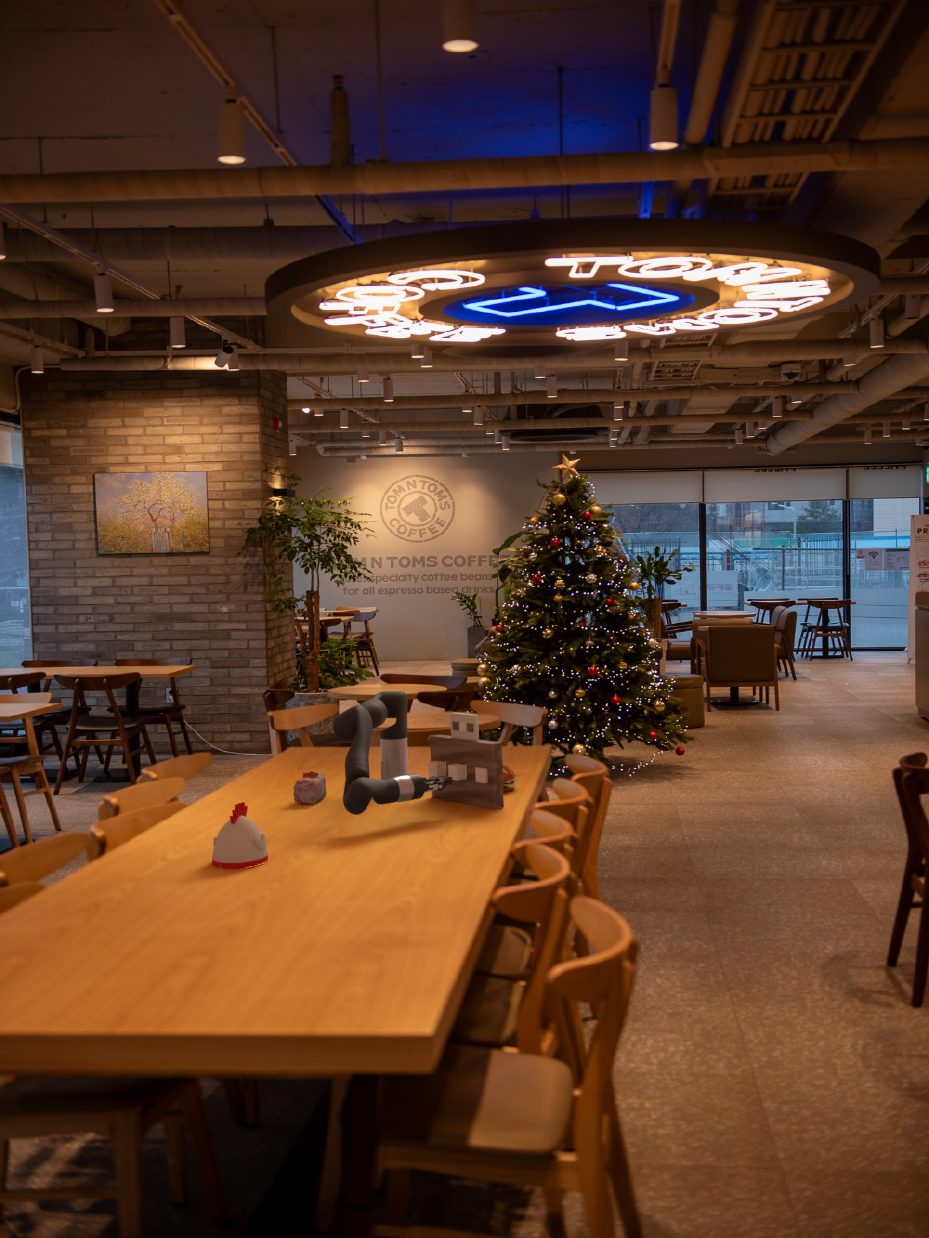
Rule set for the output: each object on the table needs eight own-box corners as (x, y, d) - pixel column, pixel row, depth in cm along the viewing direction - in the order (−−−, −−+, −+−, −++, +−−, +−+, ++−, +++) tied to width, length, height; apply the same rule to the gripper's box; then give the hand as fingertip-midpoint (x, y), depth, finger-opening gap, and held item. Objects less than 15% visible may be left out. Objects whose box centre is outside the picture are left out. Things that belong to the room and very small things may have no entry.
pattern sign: (475, 741, 334) (474, 715, 334) (450, 737, 343) (449, 712, 343) (479, 740, 335) (478, 715, 335) (454, 737, 344) (453, 712, 344)
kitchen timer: (277, 856, 277) (275, 798, 276) (252, 870, 264) (250, 810, 263) (228, 854, 281) (226, 797, 280) (202, 868, 267) (199, 808, 267)
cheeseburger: (517, 785, 365) (516, 758, 362) (516, 799, 354) (515, 771, 352) (487, 785, 366) (486, 758, 363) (485, 799, 355) (484, 771, 353)
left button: (437, 776, 342) (436, 763, 342) (428, 775, 345) (428, 761, 345) (445, 775, 344) (445, 761, 344) (436, 773, 348) (436, 760, 348)
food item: (316, 806, 341) (315, 775, 341) (292, 806, 342) (291, 775, 342) (328, 797, 354) (327, 768, 354) (305, 797, 356) (304, 768, 355)
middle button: (457, 780, 335) (457, 766, 334) (448, 778, 338) (448, 765, 338) (465, 779, 337) (465, 765, 337) (456, 777, 340) (456, 763, 340)
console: (494, 809, 327) (492, 744, 327) (432, 796, 350) (430, 735, 350) (503, 807, 330) (501, 742, 330) (441, 794, 353) (439, 734, 352)
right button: (485, 783, 329) (484, 768, 329) (475, 781, 332) (475, 767, 332) (493, 781, 331) (493, 767, 331) (484, 779, 334) (483, 765, 334)
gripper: (419, 777, 306) (464, 769, 317) (391, 772, 316) (436, 765, 327) (419, 803, 306) (465, 795, 318) (391, 797, 316) (437, 789, 328)
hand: (450, 779), depth 322 cm, fingers closed
